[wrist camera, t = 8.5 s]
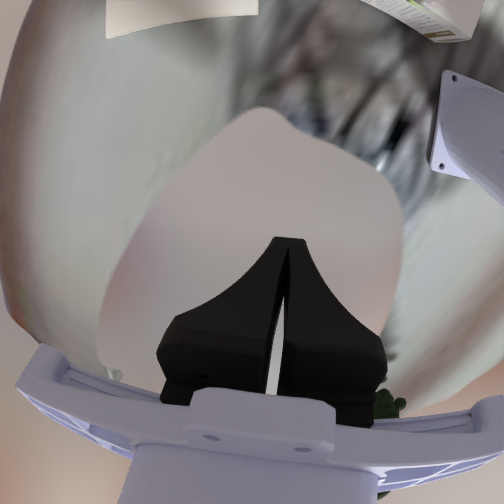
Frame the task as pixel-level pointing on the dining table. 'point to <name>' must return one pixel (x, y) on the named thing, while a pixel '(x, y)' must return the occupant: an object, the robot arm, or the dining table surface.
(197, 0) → the cream white mat
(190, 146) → the dining table surface
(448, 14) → the syrup box
